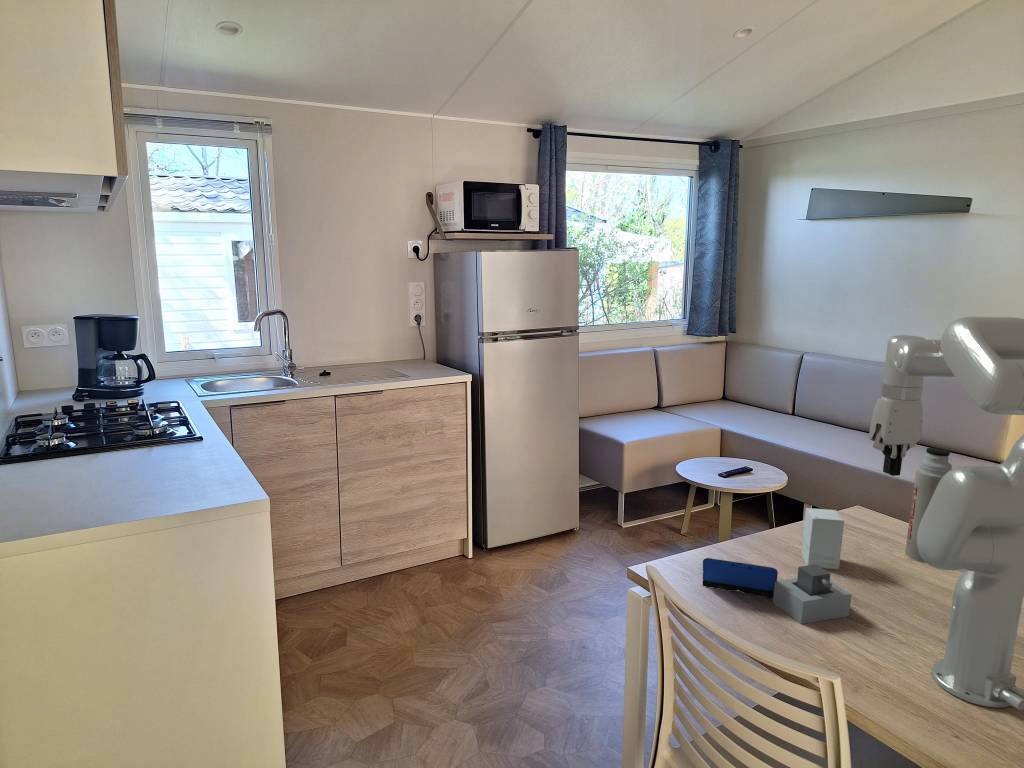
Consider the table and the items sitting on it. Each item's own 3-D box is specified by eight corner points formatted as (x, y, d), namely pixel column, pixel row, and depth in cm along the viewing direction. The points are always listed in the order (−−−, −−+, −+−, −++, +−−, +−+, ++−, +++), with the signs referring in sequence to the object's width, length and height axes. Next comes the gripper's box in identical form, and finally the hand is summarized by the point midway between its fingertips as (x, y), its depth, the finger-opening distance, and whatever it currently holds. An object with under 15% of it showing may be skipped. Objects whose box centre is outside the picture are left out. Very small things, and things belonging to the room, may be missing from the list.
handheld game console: (774, 581, 157) (778, 544, 155) (775, 609, 145) (779, 569, 143) (705, 570, 162) (707, 533, 161) (700, 595, 150) (702, 557, 148)
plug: (812, 598, 147) (815, 564, 145) (834, 614, 140) (838, 578, 139) (795, 601, 146) (798, 566, 144) (817, 617, 139) (821, 581, 138)
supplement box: (839, 570, 162) (845, 520, 160) (806, 567, 164) (811, 518, 161) (831, 557, 169) (837, 509, 167) (800, 554, 171) (805, 507, 168)
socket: (849, 616, 142) (851, 594, 141) (800, 624, 138) (803, 601, 137) (818, 595, 150) (821, 574, 149) (772, 602, 147) (774, 581, 146)
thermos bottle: (903, 557, 170) (917, 450, 164) (907, 546, 176) (920, 443, 171) (940, 566, 165) (956, 456, 160) (942, 554, 171) (958, 448, 166)
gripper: (914, 388, 151) (904, 466, 155) (859, 390, 147) (850, 471, 151) (943, 394, 144) (932, 476, 148) (887, 398, 140) (877, 482, 144)
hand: (891, 473), depth 149 cm, fingers closed
